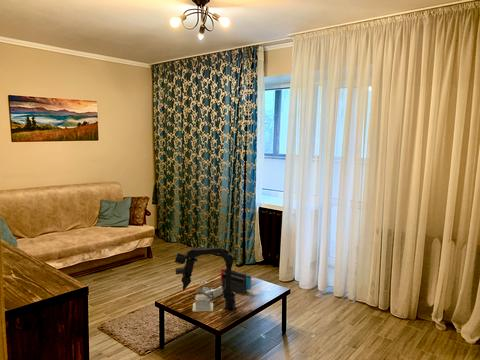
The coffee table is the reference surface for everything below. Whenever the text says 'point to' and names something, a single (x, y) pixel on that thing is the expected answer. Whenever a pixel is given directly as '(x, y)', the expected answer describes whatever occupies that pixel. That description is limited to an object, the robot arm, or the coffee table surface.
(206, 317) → the coffee table surface
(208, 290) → the toy car
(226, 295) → the robot arm
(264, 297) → the coffee table surface
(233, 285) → the game console
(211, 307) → the board
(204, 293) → the strap
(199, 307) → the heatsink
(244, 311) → the coffee table surface
